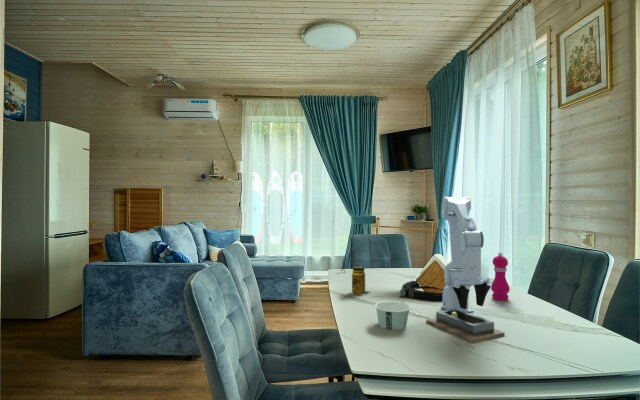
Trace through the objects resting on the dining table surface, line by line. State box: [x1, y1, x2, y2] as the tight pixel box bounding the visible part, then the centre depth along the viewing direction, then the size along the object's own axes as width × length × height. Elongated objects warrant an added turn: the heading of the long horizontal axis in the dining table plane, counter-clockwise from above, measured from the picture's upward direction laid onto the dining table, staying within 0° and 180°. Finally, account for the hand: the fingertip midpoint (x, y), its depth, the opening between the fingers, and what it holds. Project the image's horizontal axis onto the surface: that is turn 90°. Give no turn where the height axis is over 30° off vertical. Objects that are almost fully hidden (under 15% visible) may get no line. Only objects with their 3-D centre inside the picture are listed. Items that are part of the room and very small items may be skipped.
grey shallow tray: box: [435, 309, 495, 336], centre depth 122 cm, size 16×9×3 cm, turn 25°
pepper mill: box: [490, 252, 511, 302], centre depth 158 cm, size 7×7×20 cm
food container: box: [374, 300, 411, 331], centre depth 125 cm, size 12×12×7 cm
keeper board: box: [425, 312, 506, 344], centre depth 121 cm, size 20×14×4 cm
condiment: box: [348, 266, 371, 296], centre depth 169 cm, size 7×8×12 cm
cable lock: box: [399, 280, 443, 302], centre depth 168 cm, size 28×4×30 cm
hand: (471, 306), depth 123 cm, fingers open, 7 cm apart
